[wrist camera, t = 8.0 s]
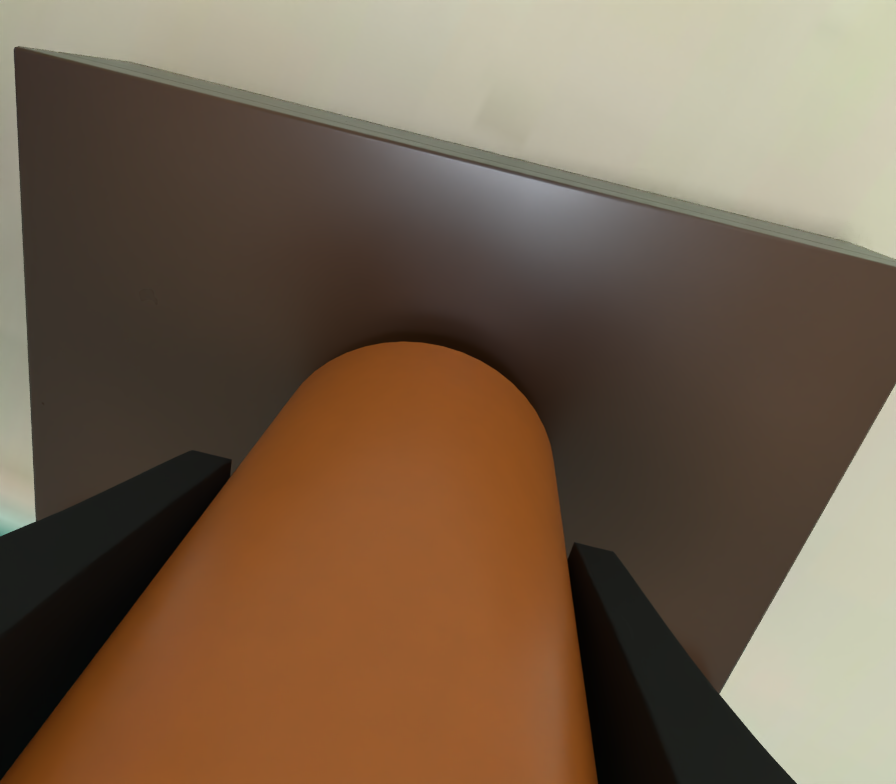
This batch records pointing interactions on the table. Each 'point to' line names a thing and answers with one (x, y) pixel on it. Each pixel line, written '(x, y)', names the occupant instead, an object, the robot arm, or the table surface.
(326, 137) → the shelf
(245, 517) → the can
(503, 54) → the table surface
